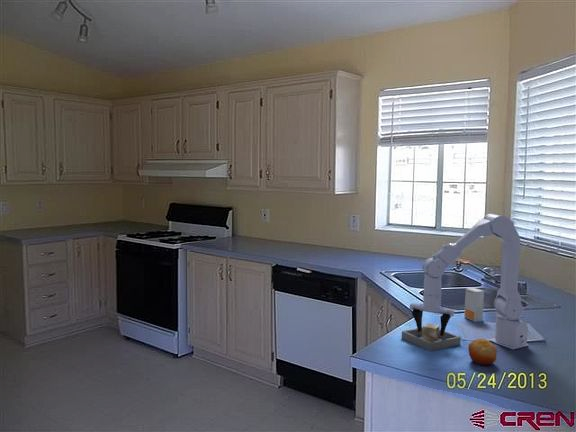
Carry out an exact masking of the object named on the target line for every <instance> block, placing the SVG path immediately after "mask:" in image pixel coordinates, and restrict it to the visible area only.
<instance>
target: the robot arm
mask: <svg viewBox="0 0 576 432" xmlns="http://www.w3.org/2000/svg"><path fill="white" fill-rule="evenodd" d="M493 235H494V236H495V237H496V238H497V239H498V240H500V242H502V245H501V246H502V247H501V249H502V250H501V268H500V269H501V270H500V272H501V273H500V287H499V288H498V290H497V292H496V293H497V294H496V297H495V299H494V301H493V306H494V309H495V310H496V315H495V337H493V338H489V339H488V341H489V342H491V343H493V344H494V343H495V344H497V345H500V346H503V347H505V348H507V349H510V350H516V349H520V348H525V347H528V346H529V344H528V324H527V323H526V322H524V321H522V320H521V317H522V316H523V314H524V306H523V304H522V297H521V294H520V293H519V290H518V287H519V274H520V269H519V268H520V251H521V250H520V249H521V236H520V235H519V233H518V230H517V229H516V227H515V222H514V221H512V220H511V219H510V218H509V217H507V216H506V215H499V214H495V213H488V214H486V215H485V216H483V218H480V219H479V220H478V221H477V222H476V223H475V224H474V225H473V226H472V227H471V228H470V229H469V230H467V231H466V232H465V233H464V234H462V236H461V237H460V238H459V239H458V240H457V241H455V242H454V243H452V242H449V243H447V244H443V245H442V248H441V249H440V250H439V251H438V252H436V253H435V254H432V255H431V257H430V258H426V260H424V262H423V264H422V266H421V267H422V270H423V272H424V279H423V298H422V299H423V300H422V303H414V302H411V303H410V304H409V310H411V311H412V312H411V315H412V317H413V319H414V322H415V324H416V328H417V329H418V332H420V331H421V330H422V327H423V325H422V324H423V313H425V312H427V313H432V314H439V315H440V329H441V332H440V336H443V335H444V332H445V331H446V327H447V326H448V323H449V321H450V319H451V317H454V316H455V309H452V308H449V307H445V306H442V303H441V302H442V285H443V284H442V276H443V275H444V274H445V272H446V269H447V268H449V267H450V265H452V264H454V262H456V261H457V260H458V259H459V258H460V257H462V251H464V249H466V248H467V247H469V246H470V245H472V244H473V243H474V242H476V241H477V240H479V239H480V238H481V237H489V236H493Z"/></svg>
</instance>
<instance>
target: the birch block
mask: <svg viewBox="0 0 576 432" xmlns="http://www.w3.org/2000/svg"><path fill="white" fill-rule="evenodd" d="M422 327H423V329H422V335H421V336H422V337H421V338H422V339H424V340H426V341H429V342H435V341H438V340H439V339H440V337H439V329H440V327H441V324H434V323H428V322H426V323H424V324H423V325H422Z"/></svg>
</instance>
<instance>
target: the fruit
mask: <svg viewBox="0 0 576 432" xmlns="http://www.w3.org/2000/svg"><path fill="white" fill-rule="evenodd" d="M468 354H469V355H468V356H469V357H470V359H471V360H472V362H474V363H475V364H476V365H478V366H479V365H480V366H486V365H493V363H495V362H496V361H497V355H498V349H497V348H496V347H495V344H494V342H491V341H489V340H487V339H486V338H476V339H473V340H471V342H470V343H469V344H468Z"/></svg>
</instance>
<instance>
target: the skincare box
mask: <svg viewBox="0 0 576 432" xmlns="http://www.w3.org/2000/svg"><path fill="white" fill-rule="evenodd" d="M464 296H465V297H464V313H463V314H464V315H463V316H464V318H465V319H468V320H469V321H472V322H475V323H476V322H477V323H478V322H483V319H484V304H485V303H484V301H485V300H484V299H485V291H484V290H482V289H480V288H476V287H469V288H468V287H466V288H465V295H464Z"/></svg>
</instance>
